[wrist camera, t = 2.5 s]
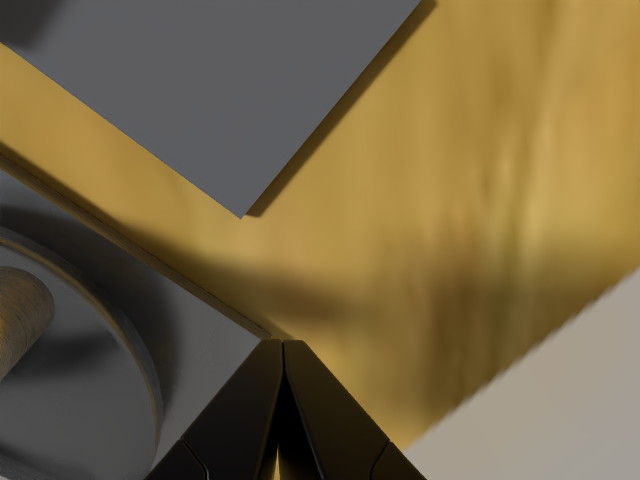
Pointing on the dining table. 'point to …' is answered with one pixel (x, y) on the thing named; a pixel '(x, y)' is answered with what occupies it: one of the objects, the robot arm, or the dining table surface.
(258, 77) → the mat
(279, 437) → the robot arm
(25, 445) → the handwheel
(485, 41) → the dining table surface
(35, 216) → the wheel base
